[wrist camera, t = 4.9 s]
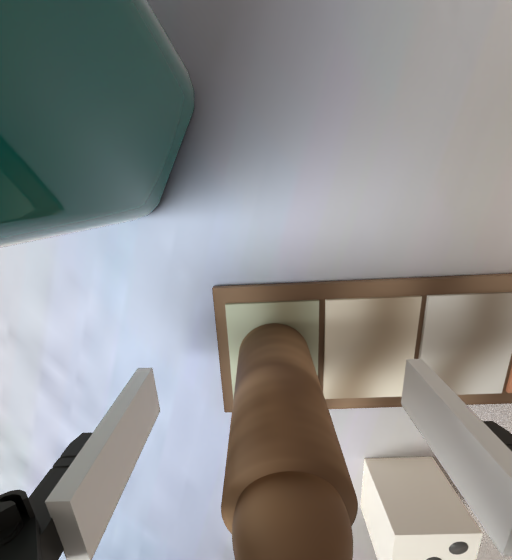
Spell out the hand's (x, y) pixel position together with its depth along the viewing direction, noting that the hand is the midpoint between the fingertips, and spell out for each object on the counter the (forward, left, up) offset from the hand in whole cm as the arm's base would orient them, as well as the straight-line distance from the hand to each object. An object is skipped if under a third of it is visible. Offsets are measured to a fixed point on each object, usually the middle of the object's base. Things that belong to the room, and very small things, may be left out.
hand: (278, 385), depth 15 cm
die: (+9, -12, -4) cm, 15 cm away
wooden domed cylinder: (0, 0, -3) cm, 3 cm away
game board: (+9, 0, -4) cm, 10 cm away
